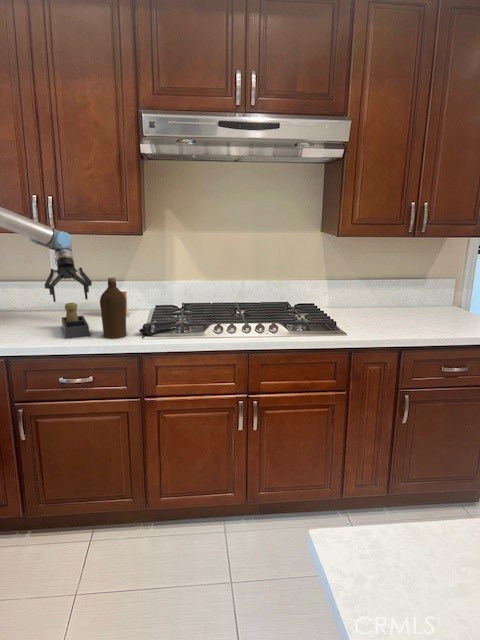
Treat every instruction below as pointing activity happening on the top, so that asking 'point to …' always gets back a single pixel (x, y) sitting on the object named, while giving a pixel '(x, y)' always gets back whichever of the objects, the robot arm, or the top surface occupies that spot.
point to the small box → (125, 297)
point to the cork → (71, 312)
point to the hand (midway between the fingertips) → (70, 299)
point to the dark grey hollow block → (75, 328)
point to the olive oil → (113, 311)
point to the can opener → (150, 327)
